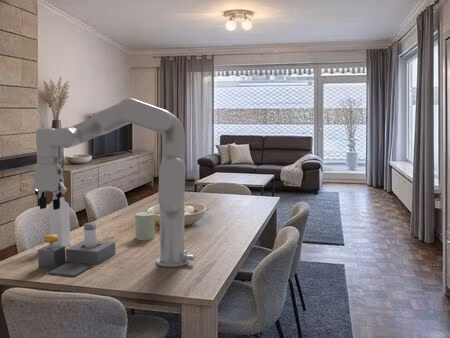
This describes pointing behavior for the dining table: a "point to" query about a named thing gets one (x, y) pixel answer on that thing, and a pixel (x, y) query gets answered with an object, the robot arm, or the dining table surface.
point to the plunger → (51, 239)
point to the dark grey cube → (51, 257)
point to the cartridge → (90, 235)
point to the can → (145, 225)
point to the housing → (90, 252)
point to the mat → (70, 270)
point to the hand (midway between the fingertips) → (49, 208)
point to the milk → (60, 223)
